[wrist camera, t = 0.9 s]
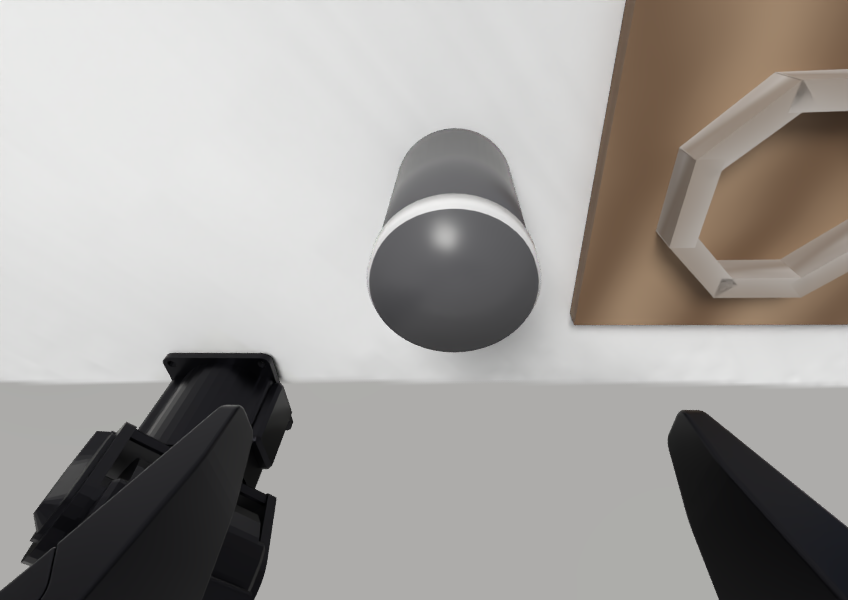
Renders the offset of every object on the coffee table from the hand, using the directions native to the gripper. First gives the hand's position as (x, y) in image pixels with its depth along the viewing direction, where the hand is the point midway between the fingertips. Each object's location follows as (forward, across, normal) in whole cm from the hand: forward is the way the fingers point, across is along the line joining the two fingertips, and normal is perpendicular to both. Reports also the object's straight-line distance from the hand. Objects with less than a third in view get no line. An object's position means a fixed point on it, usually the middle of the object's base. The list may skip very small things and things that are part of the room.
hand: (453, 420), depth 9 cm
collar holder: (+13, -13, 0) cm, 18 cm away
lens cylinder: (+13, 0, 0) cm, 13 cm away
